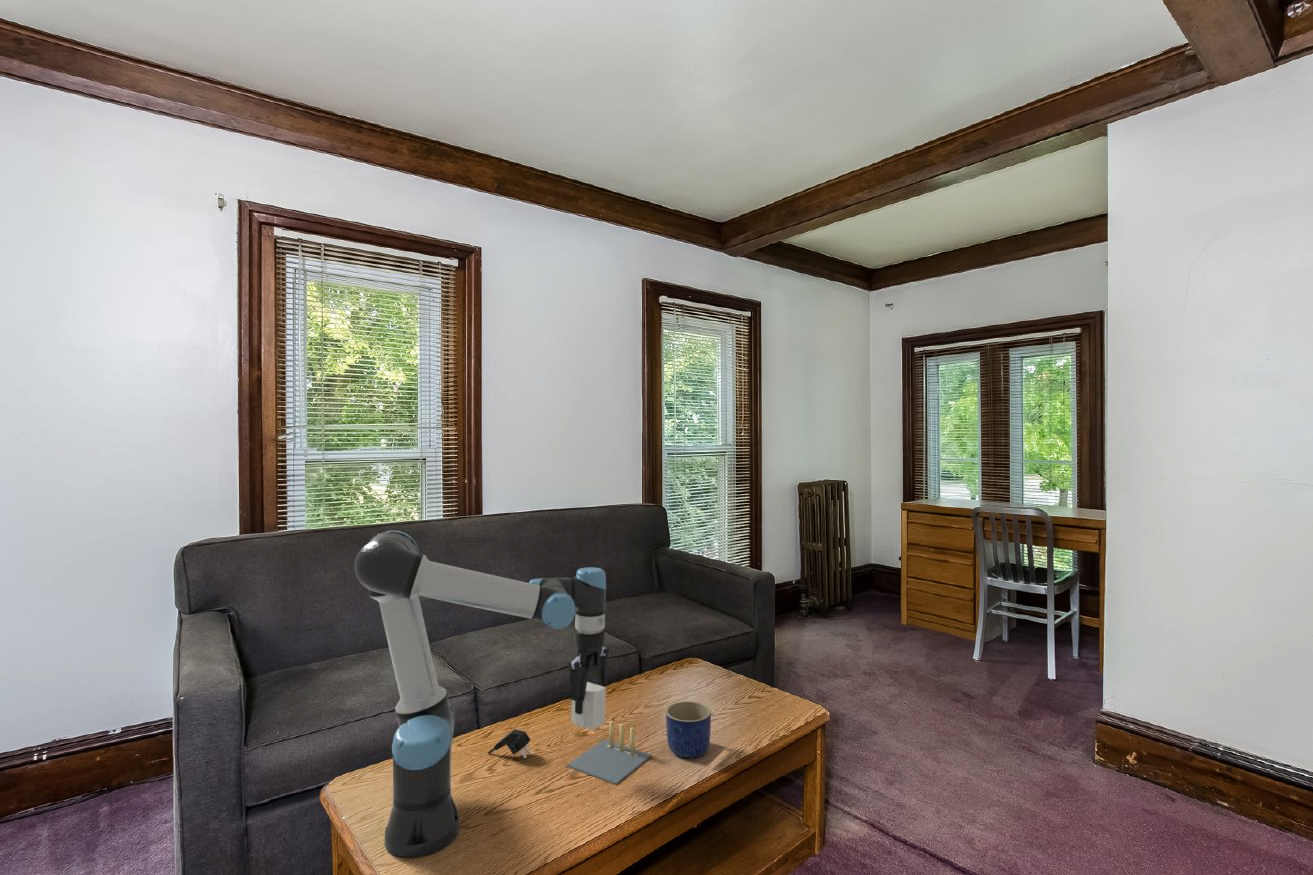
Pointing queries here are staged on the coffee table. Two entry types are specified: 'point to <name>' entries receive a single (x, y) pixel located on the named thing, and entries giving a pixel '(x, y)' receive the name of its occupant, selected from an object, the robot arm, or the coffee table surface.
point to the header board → (611, 758)
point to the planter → (688, 728)
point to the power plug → (514, 742)
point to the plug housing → (592, 706)
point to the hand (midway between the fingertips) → (587, 720)
